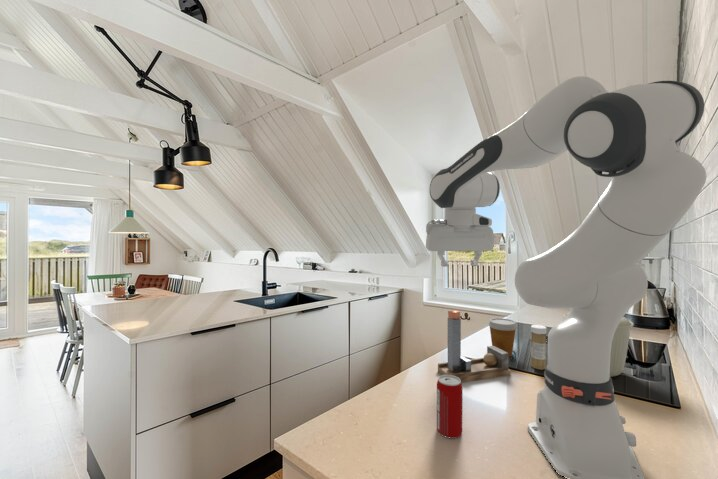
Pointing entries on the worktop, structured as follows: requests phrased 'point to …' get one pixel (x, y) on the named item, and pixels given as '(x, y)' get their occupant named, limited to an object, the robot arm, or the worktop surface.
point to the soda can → (449, 406)
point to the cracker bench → (482, 366)
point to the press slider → (456, 344)
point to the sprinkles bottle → (538, 346)
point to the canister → (618, 346)
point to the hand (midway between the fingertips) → (459, 266)
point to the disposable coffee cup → (503, 334)
